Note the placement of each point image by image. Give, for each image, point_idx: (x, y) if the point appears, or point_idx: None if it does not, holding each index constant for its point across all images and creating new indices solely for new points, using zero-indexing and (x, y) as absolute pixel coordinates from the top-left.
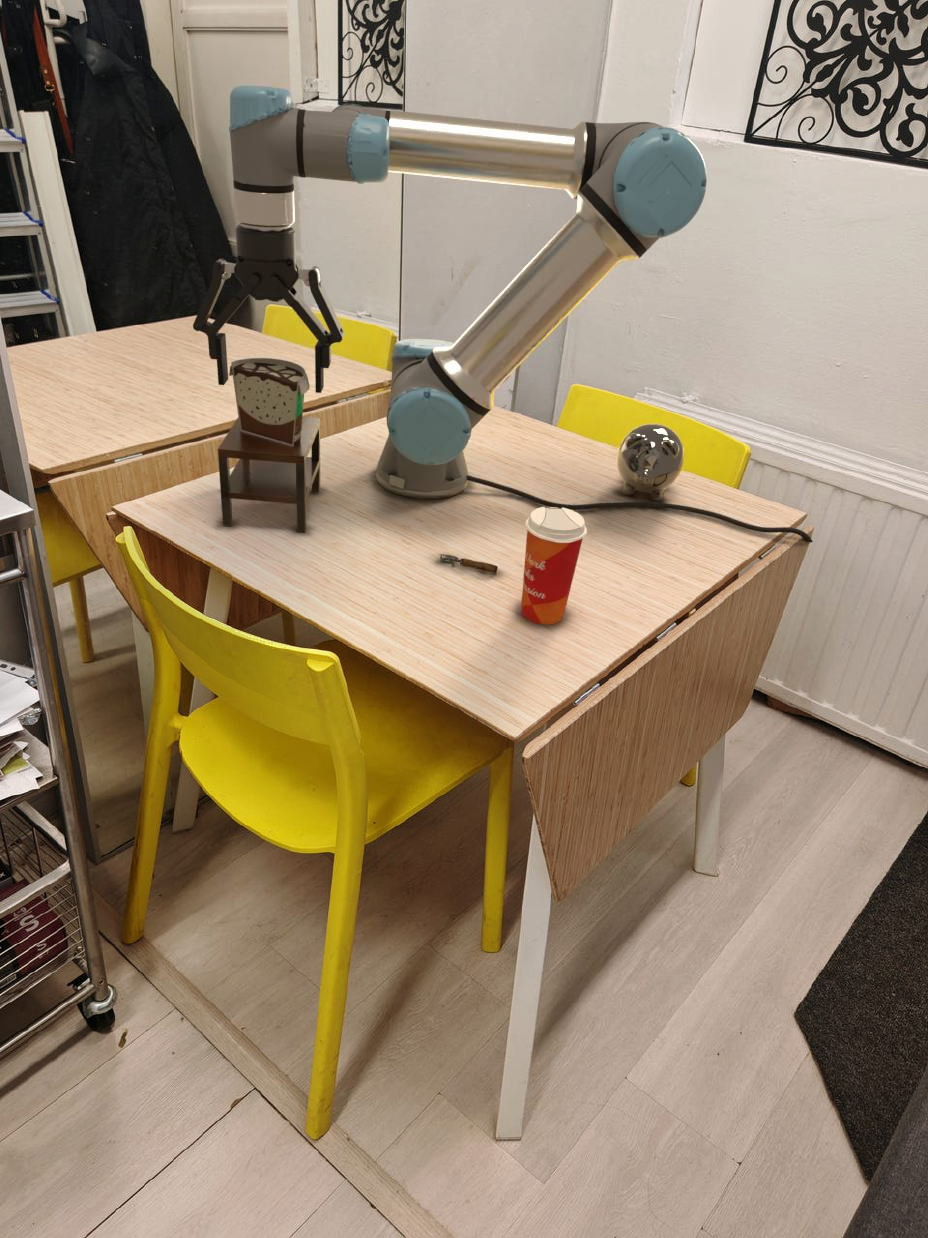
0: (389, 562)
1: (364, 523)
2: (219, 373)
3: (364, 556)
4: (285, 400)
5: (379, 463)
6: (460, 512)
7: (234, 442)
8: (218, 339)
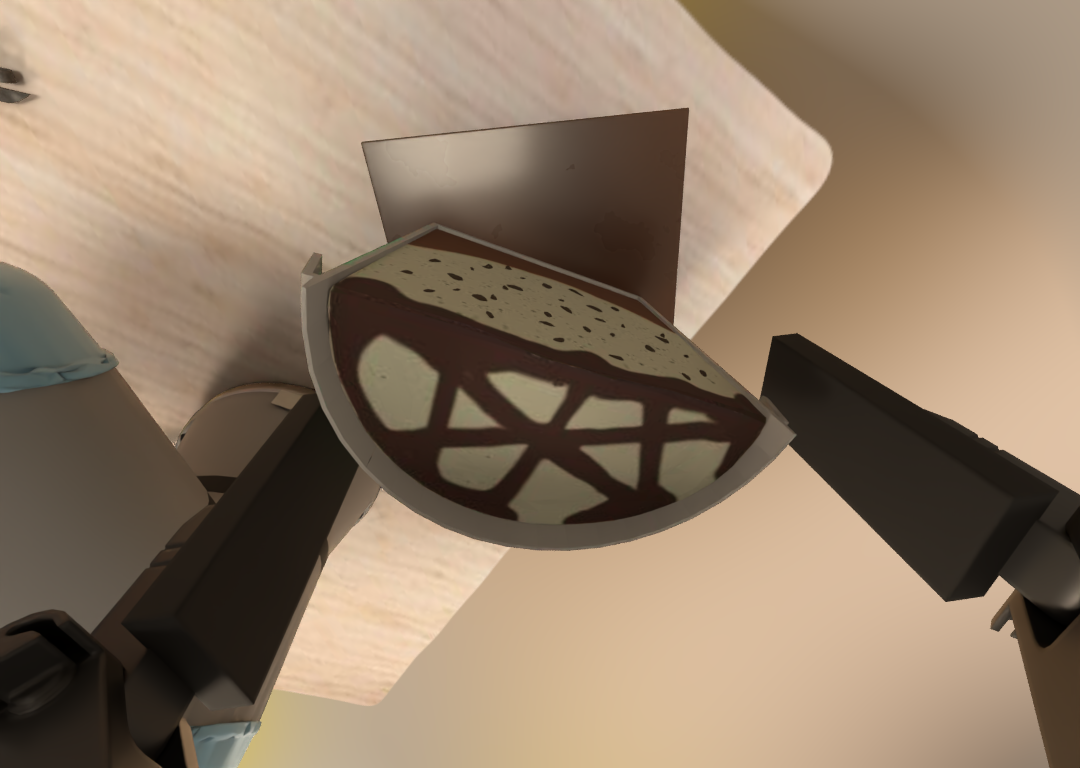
0: (140, 25)
1: (310, 239)
2: (827, 358)
3: (221, 46)
4: (447, 279)
5: None
6: (144, 353)
7: (641, 195)
8: (1023, 486)
